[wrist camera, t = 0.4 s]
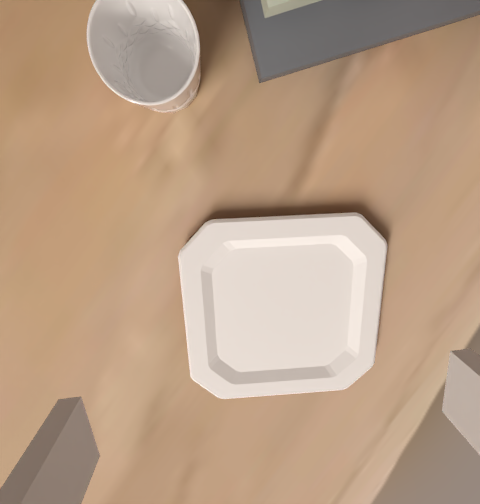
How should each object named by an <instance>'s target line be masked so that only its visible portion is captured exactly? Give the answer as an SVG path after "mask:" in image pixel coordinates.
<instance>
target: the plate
mask: <svg viewBox="0 0 480 504" xmlns="http://www.w3.org/2000/svg"><path fill="white" fill-rule="evenodd" d="M386 254H387V242H386V240H385V239H384V237H383V236H382V235H381V234H380V233H379V232H378V231H377V230H376V229H375V228H374V227H373V226H372V225H371V224H370V223H369V222H368V221H367V220H366V219H365V218H364V216H363V215H361V214H359V213H356V212H351V213H330V214H310V215H289V216H269V217H249V218H228V219H211V220H209V221H207V222H205V223H204V224H203V225H202V227H201V228H200V229H199V230H198V231H197V232H196V233H195V234H194V235H193V237H192V238H191V239H190V240H189V241H188V242H187V243H186V244H185V245H184V247H183V248H182V249H181V250H180V252H179V255H178V260H179V270H180V280H181V289H182V299H183V309H184V319H185V328H186V338H187V348H188V357H189V367H190V376H191V378H192V379H193V381H195V382H196V383H198V384H199V385H201V386H202V387H204V388H205V389H206V390H208V391H209V392H211V393H212V394H214V395H215V396H216V397H218V398H222V399H230V398H243V397H256V396H269V395H282V394H295V393H308V392H321V391H335V390H343V389H346V388H348V387H349V386H350V385H352V384H353V383H354V382H355V381H356V380H357V379H359V378H360V377H361V376H362V375H363V374H364V373H366V372H367V371H368V370H369V369H370V368H371V367H372V366H373V364H374V363H375V354H376V345H377V336H378V327H379V318H380V309H381V300H382V291H383V282H384V273H385V264H386Z"/></svg>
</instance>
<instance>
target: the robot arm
mask: <svg viewBox="0 0 480 504" xmlns="http://www.w3.org/2000/svg"><path fill="white" fill-rule="evenodd" d="M442 412H443V413H444V414H445V415H446V417H447V418H448V419H449V420H450V421H451V422H452V423H453V425H454V426H455V427H456V428H457V429H458V431H459V432H460V433H461V434H462V435H463V436H464V437H465V439H466V440H467V441H468V442H469V443H470V444H471V446H472V447H473V448H474V449H475V450H476V451H477V452H478V454H479V455H480V355H479V354H477V353H476V352H475V351H474V350H472V349H463V350H455V351H450V357H449V365H448V372H447V379H446V386H445V394H444V401H443V408H442ZM99 457H100V454H99V451H98V448H97V445H96V442H95V439H94V436H93V432H92V429H91V426H90V423H89V420H88V417H87V413H86V410H85V407H84V404H83V401H82V398H81V397H74V398H66V399H59V400H58V401H57V403H56V404H55V406H54V407H53V409H52V410H51V412H50V414H49V415H48V417H47V418H46V420H45V421H44V423H43V424H42V426H41V427H40V429H39V430H38V432H37V434H36V435H35V437H34V438H33V440H32V441H31V443H30V444H29V446H28V447H27V449H26V450H25V452H24V454H23V455H22V457H21V458H20V460H19V461H18V463H17V464H16V466H15V467H14V469H13V470H12V472H11V474H10V475H9V477H8V478H7V480H6V481H5V483H4V484H3V486H2V487H1V489H0V504H81V503H82V500H83V498H84V495H85V492H86V490H87V487H88V485H89V482H90V480H91V477H92V475H93V472H94V470H95V467H96V464H97V462H98V459H99Z"/></svg>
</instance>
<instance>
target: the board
mask: <svg viewBox="0 0 480 504" xmlns="http://www.w3.org/2000/svg"><path fill="white" fill-rule="evenodd" d="M240 4H241V9H242V13H243V17H244V21H245V25H246V29H247V34H248V38H249V42H250V46H251V50H252V54H253V58H254V63H255V67H256V71H257V75H258V79H259V83H261V82H265V81H268V80H271V79H274V78H277V77H281V76H284V75H287V74H290V73H293V72H297V71H300V70H303V69H306V68H310V67H313V66H316V65H319V64H322V63H326V62H329V61H332V60H335V59H338V58H342V57H345V56H348V55H351V54H355V53H358V52H361V51H364V50H367V49H371V48H374V47H377V46H380V45H384V44H387V43H390V42H393V41H396V40H400V39H403V38H406V37H409V36H412V35H416V34H419V33H422V32H425V31H429V30H432V29H435V28H438V27H441V26H445V25H448V24H451V23H454V22H458V21H461V20H464V19H467V18H470V17H474V16H477V15H480V0H321V1H318V2H315V3H312V4H309V5H305V6H302V7H299V8H296V9H293V10H290V11H287V12H283V13H280V14H277V15H274V16H271V17H268V18H265V17H264V13H263V8H262V4H261V0H240Z"/></svg>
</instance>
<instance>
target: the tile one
mask: <svg viewBox="0 0 480 504" xmlns="http://www.w3.org/2000/svg"><path fill="white" fill-rule="evenodd" d="M318 1H321V0H261V4H262V8H263V13H264V17H265V18H268V17H271V16H274V15H277V14H280V13H283V12H287V11H290V10H293V9H296V8H299V7H302V6H305V5H309V4H312V3H315V2H318Z"/></svg>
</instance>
